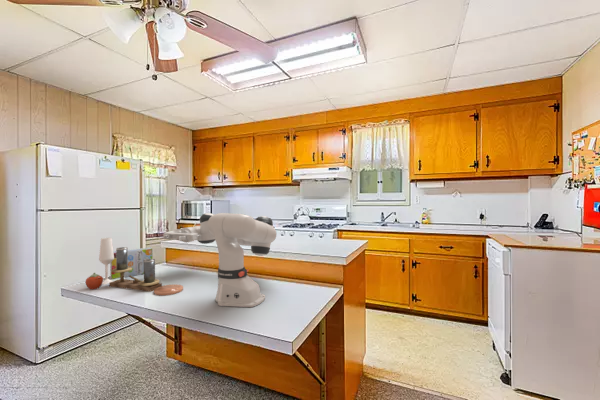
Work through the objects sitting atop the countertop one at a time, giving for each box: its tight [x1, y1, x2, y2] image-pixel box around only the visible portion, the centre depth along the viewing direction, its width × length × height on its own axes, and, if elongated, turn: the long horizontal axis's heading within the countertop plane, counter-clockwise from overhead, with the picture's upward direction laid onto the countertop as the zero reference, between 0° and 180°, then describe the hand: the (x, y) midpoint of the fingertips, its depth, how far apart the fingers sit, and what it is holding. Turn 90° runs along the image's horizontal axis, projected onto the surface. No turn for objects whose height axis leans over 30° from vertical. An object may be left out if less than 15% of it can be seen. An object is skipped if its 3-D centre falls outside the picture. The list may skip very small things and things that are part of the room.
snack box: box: [109, 247, 154, 280], centre depth 169 cm, size 21×6×15 cm, turn 130°
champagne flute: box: [98, 237, 114, 285], centre depth 154 cm, size 7×7×24 cm
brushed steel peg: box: [143, 258, 156, 283], centre depth 144 cm, size 5×5×11 cm
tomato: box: [84, 272, 104, 290], centre depth 145 cm, size 7×7×8 cm
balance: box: [108, 267, 163, 292], centre depth 147 cm, size 27×9×8 cm, turn 73°
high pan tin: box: [115, 246, 129, 270], centre depth 150 cm, size 5×5×11 cm
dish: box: [153, 283, 184, 296], centre depth 141 cm, size 13×13×1 cm
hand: (171, 238), depth 159 cm, fingers open, 8 cm apart
